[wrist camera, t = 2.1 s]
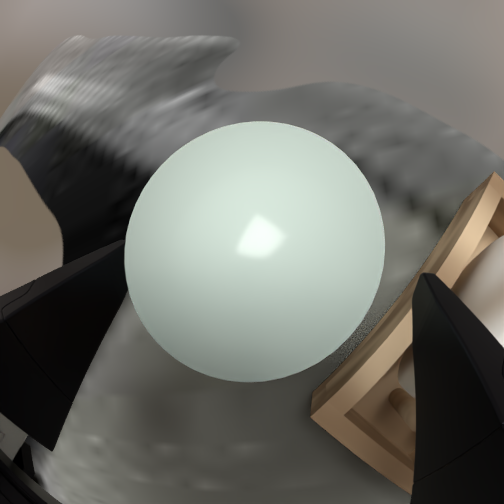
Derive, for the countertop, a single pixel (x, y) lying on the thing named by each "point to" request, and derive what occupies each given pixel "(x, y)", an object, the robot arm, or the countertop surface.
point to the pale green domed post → (254, 251)
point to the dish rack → (400, 342)
